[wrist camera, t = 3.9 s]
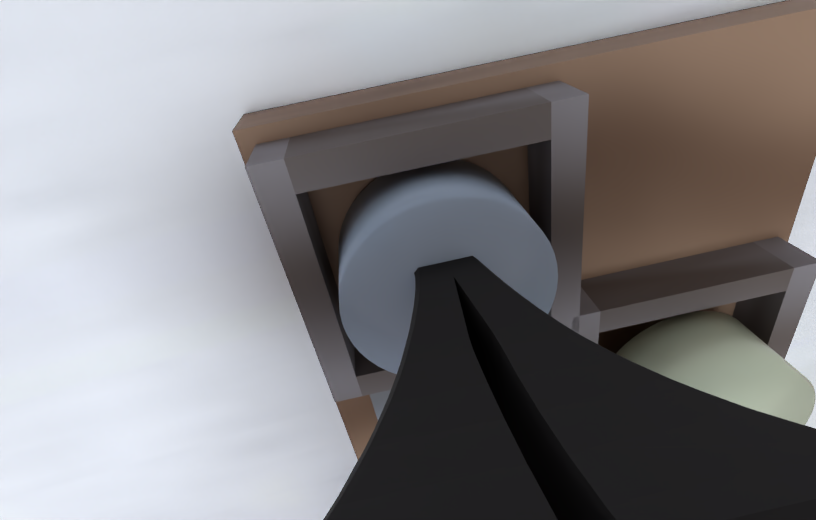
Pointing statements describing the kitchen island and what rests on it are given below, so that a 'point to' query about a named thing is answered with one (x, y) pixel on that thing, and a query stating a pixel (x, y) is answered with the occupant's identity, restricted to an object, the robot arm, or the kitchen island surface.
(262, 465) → the kitchen island surface
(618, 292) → the panel
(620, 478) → the robot arm
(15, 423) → the kitchen island surface
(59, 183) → the kitchen island surface
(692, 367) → the button sage
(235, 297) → the kitchen island surface
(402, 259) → the button slate
